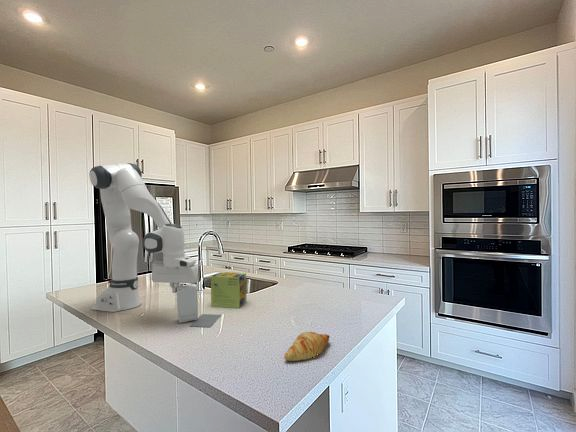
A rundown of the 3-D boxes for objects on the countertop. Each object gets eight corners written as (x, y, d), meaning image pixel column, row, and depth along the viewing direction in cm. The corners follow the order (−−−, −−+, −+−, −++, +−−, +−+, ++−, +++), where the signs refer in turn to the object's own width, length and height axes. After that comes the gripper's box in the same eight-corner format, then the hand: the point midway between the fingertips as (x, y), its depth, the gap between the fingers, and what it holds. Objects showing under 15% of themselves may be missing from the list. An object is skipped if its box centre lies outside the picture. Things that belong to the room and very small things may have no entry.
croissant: (291, 377, 94) (299, 359, 91) (272, 352, 100) (279, 335, 97) (333, 353, 108) (341, 337, 105) (314, 332, 115) (322, 317, 111)
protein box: (239, 308, 148) (239, 277, 147) (210, 306, 151) (210, 276, 150) (247, 301, 158) (246, 272, 157) (219, 300, 161) (219, 271, 161)
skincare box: (196, 314, 137) (196, 283, 135) (198, 320, 132) (198, 287, 130) (176, 317, 133) (176, 285, 131) (178, 323, 128) (177, 290, 126)
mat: (189, 326, 125) (189, 326, 125) (202, 314, 139) (202, 314, 139) (210, 327, 124) (210, 326, 124) (221, 315, 138) (221, 314, 138)
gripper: (147, 262, 129) (148, 293, 130) (192, 262, 126) (193, 295, 127) (156, 259, 135) (157, 289, 136) (199, 259, 132) (200, 290, 133)
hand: (175, 292), depth 131 cm, fingers closed, pressing on skincare box
